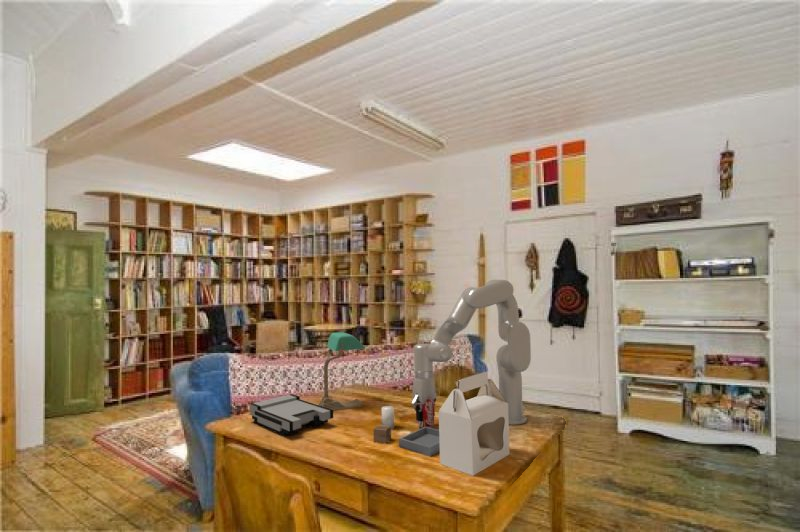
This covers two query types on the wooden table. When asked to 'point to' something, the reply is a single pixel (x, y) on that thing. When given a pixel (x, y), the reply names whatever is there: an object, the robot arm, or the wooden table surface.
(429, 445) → the tray
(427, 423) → the soda can
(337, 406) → the banker's lamp
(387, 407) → the grey ceramic shaker
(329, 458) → the wooden table surface
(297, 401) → the game console
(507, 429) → the gable box
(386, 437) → the walnut block
